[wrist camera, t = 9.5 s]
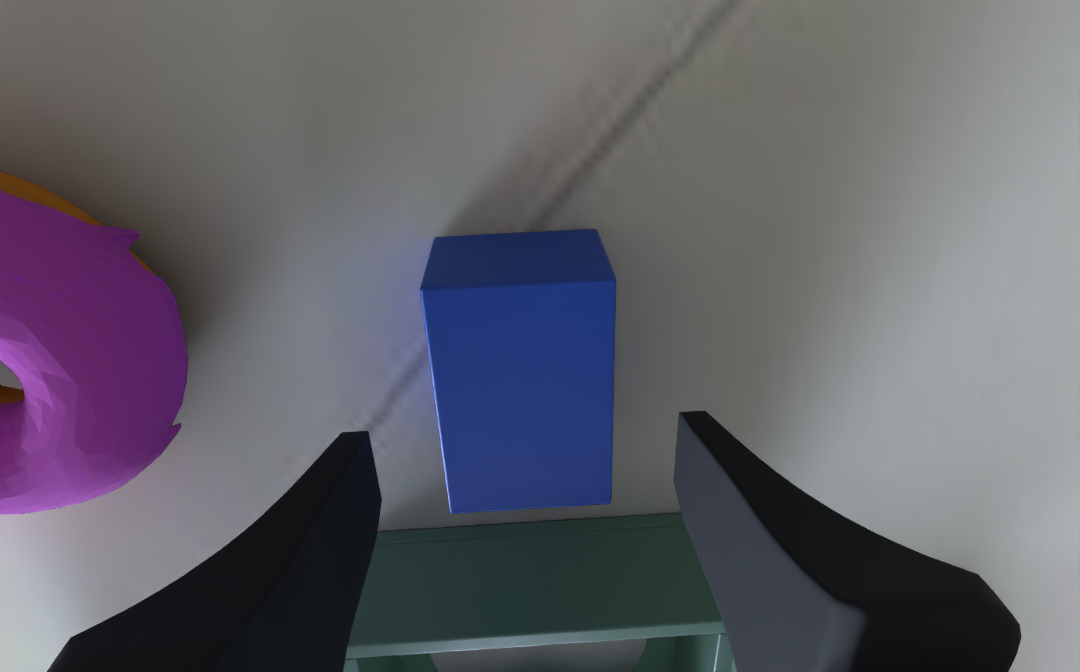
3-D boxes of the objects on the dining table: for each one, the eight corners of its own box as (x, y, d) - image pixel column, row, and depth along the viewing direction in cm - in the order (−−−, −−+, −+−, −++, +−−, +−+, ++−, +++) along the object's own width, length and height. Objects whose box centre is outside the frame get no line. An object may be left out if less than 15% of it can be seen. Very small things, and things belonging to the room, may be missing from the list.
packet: (457, 437, 21) (449, 515, 18) (433, 236, 18) (418, 287, 15) (596, 429, 21) (611, 505, 18) (597, 227, 18) (616, 277, 15)
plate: (440, 712, 27) (440, 716, 27) (415, 567, 23) (414, 572, 23) (642, 697, 27) (643, 702, 27) (651, 552, 23) (653, 556, 23)
